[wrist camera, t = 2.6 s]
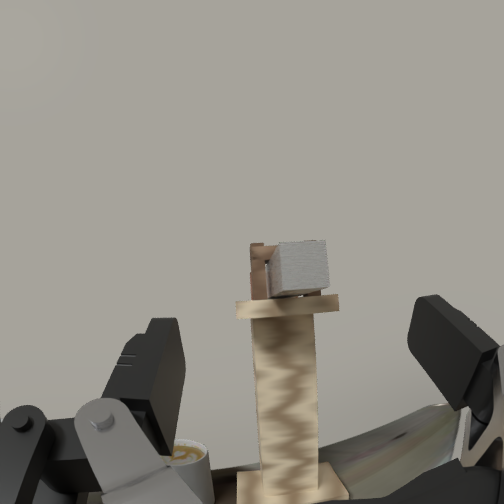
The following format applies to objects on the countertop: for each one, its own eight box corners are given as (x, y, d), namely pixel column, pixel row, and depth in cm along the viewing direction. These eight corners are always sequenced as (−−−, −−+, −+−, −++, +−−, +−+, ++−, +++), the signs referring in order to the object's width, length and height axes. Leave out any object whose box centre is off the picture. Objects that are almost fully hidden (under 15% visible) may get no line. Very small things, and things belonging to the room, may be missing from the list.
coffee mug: (196, 481, 41) (189, 434, 43) (227, 505, 34) (220, 455, 35) (125, 496, 33) (112, 447, 35) (145, 528, 26) (130, 475, 27)
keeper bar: (263, 291, 25) (259, 236, 26) (251, 302, 49) (249, 274, 50) (347, 285, 25) (341, 232, 26) (295, 299, 50) (293, 271, 50)
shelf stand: (238, 525, 28) (215, 245, 35) (238, 480, 42) (222, 264, 49) (352, 509, 29) (347, 238, 36) (327, 470, 43) (319, 258, 50)
